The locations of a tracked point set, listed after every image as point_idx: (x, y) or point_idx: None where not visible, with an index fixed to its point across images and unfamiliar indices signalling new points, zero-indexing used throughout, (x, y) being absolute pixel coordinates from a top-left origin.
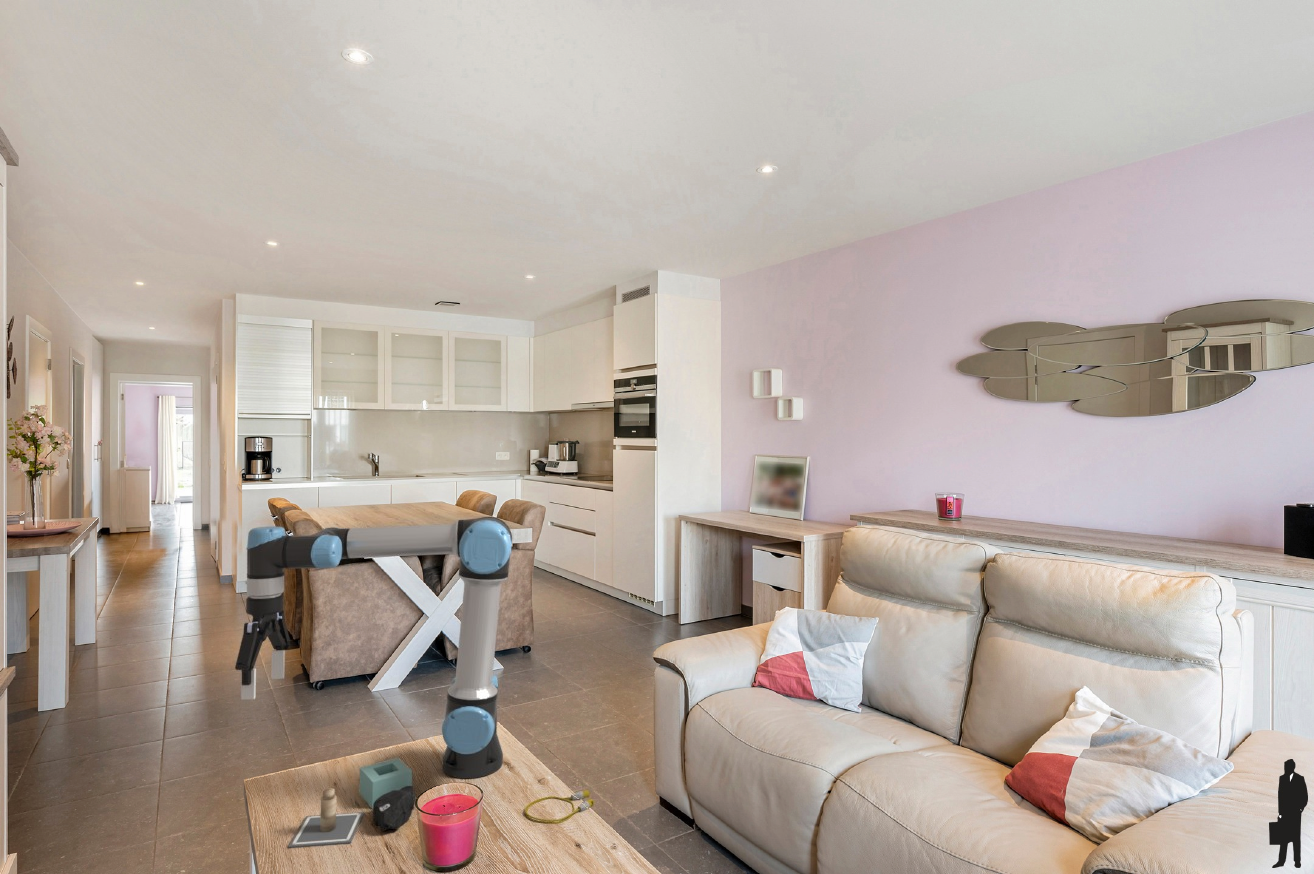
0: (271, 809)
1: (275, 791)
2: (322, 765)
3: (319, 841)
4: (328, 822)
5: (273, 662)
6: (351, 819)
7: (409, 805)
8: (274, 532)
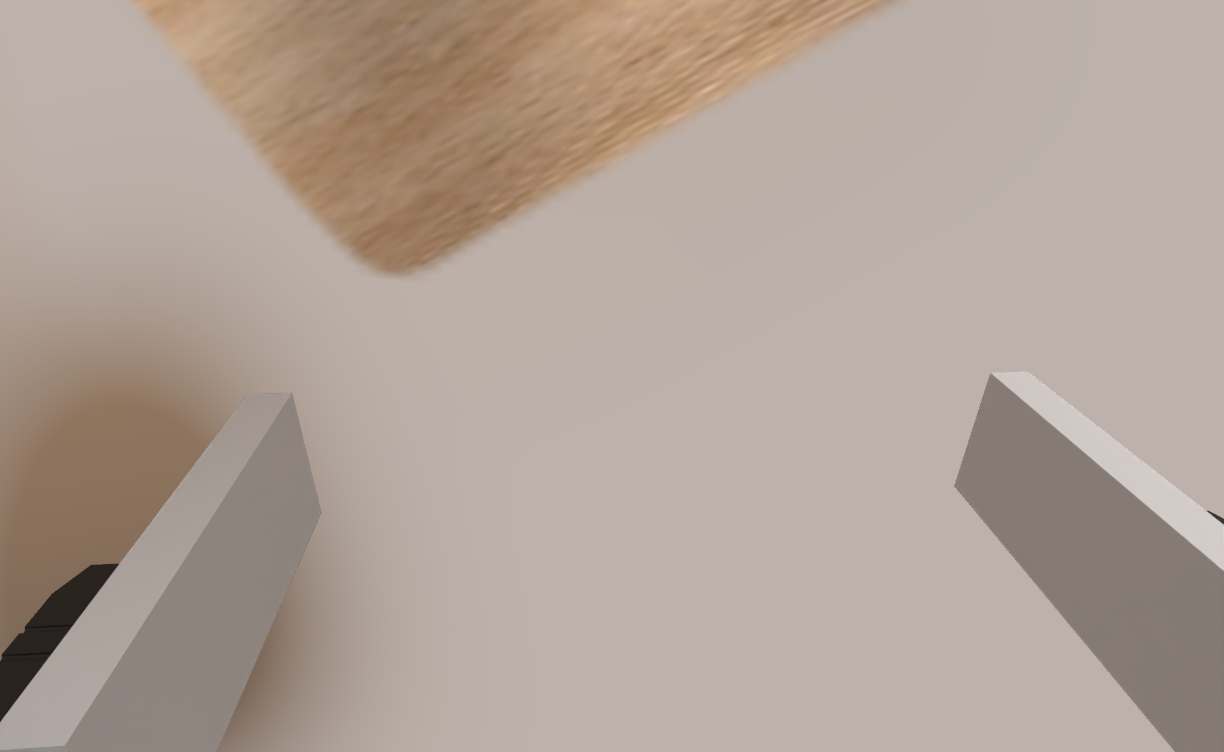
0: (638, 89)
1: (476, 151)
2: (173, 31)
3: None
4: None
5: (240, 664)
6: None
7: None
8: None
